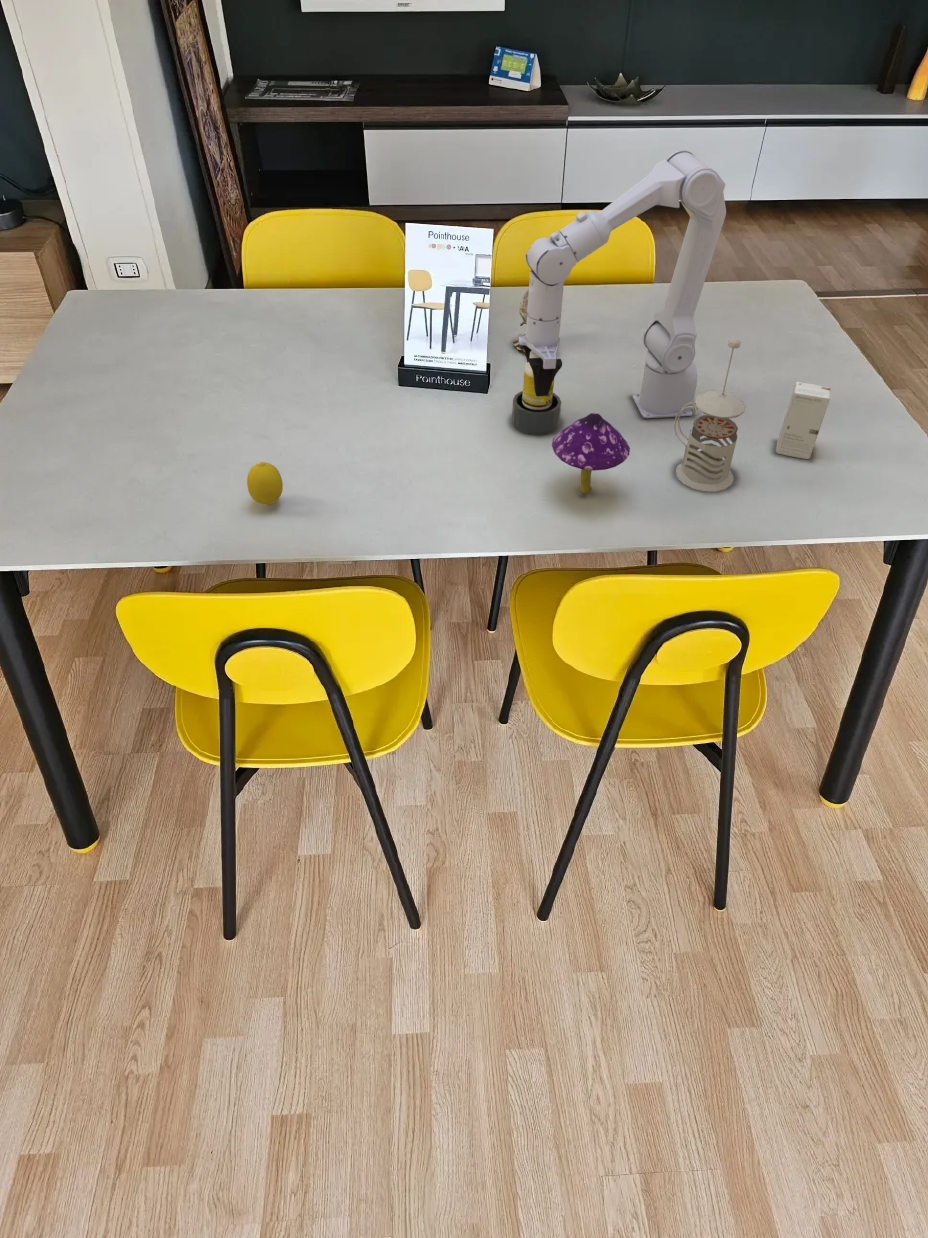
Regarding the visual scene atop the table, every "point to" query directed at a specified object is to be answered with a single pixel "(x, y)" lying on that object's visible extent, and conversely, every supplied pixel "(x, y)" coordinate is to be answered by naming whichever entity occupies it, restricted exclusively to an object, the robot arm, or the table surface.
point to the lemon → (264, 483)
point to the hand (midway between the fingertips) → (538, 386)
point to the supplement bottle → (529, 392)
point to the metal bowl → (536, 417)
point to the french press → (711, 438)
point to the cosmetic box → (803, 420)
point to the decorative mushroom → (590, 447)
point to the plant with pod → (523, 317)
